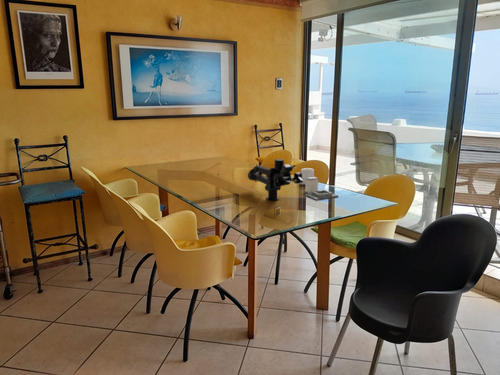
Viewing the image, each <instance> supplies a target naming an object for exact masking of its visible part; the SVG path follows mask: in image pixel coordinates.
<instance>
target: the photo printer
mask: <svg viewBox="0 0 500 375" xmlns="http://www.w3.org/2000/svg"><path fill="white" fill-rule="evenodd" d="M300 173H302V180H303V183H299V184H300V185H306V178H307V177H315V170H314V168H310V167H304V168H301V169H300Z"/></svg>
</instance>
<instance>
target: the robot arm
mask: <svg viewBox="0 0 500 375" xmlns="http://www.w3.org/2000/svg"><path fill="white" fill-rule="evenodd" d="M293 169H294V167H293V164H285V158H284V159H283V158H282V159H280V158H275V159H274V167H270V168H269V167H265V166H263V165H261V164H260V165H255V166H254V167H253V168H252V169H250V170H249V172H248V174H247V178H248V179H249V181H257V182H260V183H261V184H264V186H265V187H264V189H265V190H264V191H267V197H265V199H266V200H267V201H269V202H273V201H279V200H280V198H278V191H280V190H281V188H282V187H283V186H287V185H288V186H289V185H290V184H291V183H292V182H294V184H297V185H299V184H300V183H303V180H302V173H301V172H294V174H293V176H292V173H291V172H292V171H293Z"/></svg>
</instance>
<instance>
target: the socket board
mask: <svg viewBox="0 0 500 375" xmlns="http://www.w3.org/2000/svg"><path fill="white" fill-rule="evenodd" d="M305 197H307V198H309V199H311V200H314V201H321V200H328V199H333V198H339V195H338V194H335V193H333V192H331V191H329V190H325V189H321V190H319V189H318V191H312V193H307V194H305Z"/></svg>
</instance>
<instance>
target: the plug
mask: <svg viewBox="0 0 500 375" xmlns="http://www.w3.org/2000/svg"><path fill="white" fill-rule="evenodd" d="M304 190H305V193H307V194H311V193H312V191H319V177H316V176H314V177H307V178H306V184H305V188H304Z"/></svg>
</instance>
